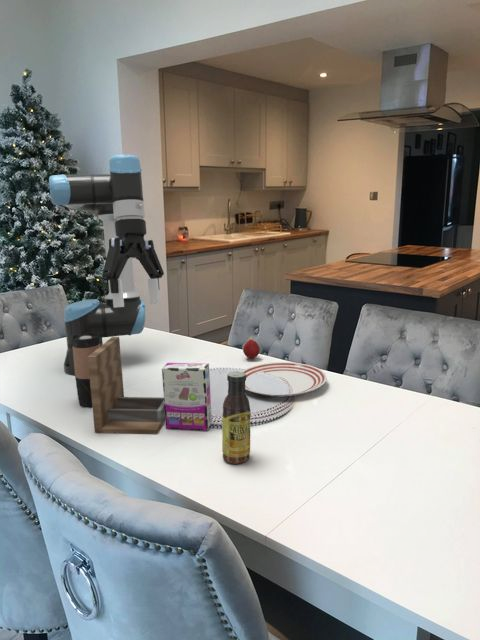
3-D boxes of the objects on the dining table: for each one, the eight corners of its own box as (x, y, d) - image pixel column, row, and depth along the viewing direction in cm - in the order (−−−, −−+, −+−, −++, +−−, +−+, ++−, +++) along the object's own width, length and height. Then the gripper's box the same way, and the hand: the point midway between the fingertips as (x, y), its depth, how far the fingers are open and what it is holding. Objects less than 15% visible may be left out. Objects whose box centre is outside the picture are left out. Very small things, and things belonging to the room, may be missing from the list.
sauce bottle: (230, 468, 114) (227, 381, 109) (217, 455, 119) (214, 372, 114) (256, 460, 116) (255, 375, 112) (243, 449, 122) (241, 367, 117)
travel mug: (98, 409, 147) (91, 340, 142) (73, 407, 148) (65, 339, 143) (110, 398, 154) (104, 332, 149) (86, 397, 155) (79, 331, 151)
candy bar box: (212, 423, 136) (210, 362, 132) (208, 431, 131) (205, 369, 127) (170, 421, 138) (167, 361, 134) (165, 429, 133) (161, 367, 129)
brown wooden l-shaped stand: (117, 404, 149) (112, 336, 145) (173, 405, 148) (169, 337, 143) (94, 432, 132) (87, 356, 127) (157, 434, 130) (152, 357, 126)
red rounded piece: (262, 358, 187) (262, 337, 185) (254, 363, 183) (254, 341, 181) (248, 356, 190) (248, 335, 188) (240, 360, 186) (239, 338, 184)
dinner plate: (282, 411, 143) (281, 400, 142) (218, 386, 163) (218, 375, 162) (345, 386, 160) (345, 375, 159) (280, 365, 180) (280, 356, 179)
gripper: (105, 213, 117) (114, 307, 118) (172, 221, 139) (179, 301, 140) (81, 217, 121) (89, 309, 122) (150, 225, 143) (157, 303, 144)
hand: (137, 305), depth 131 cm, fingers open, 13 cm apart
